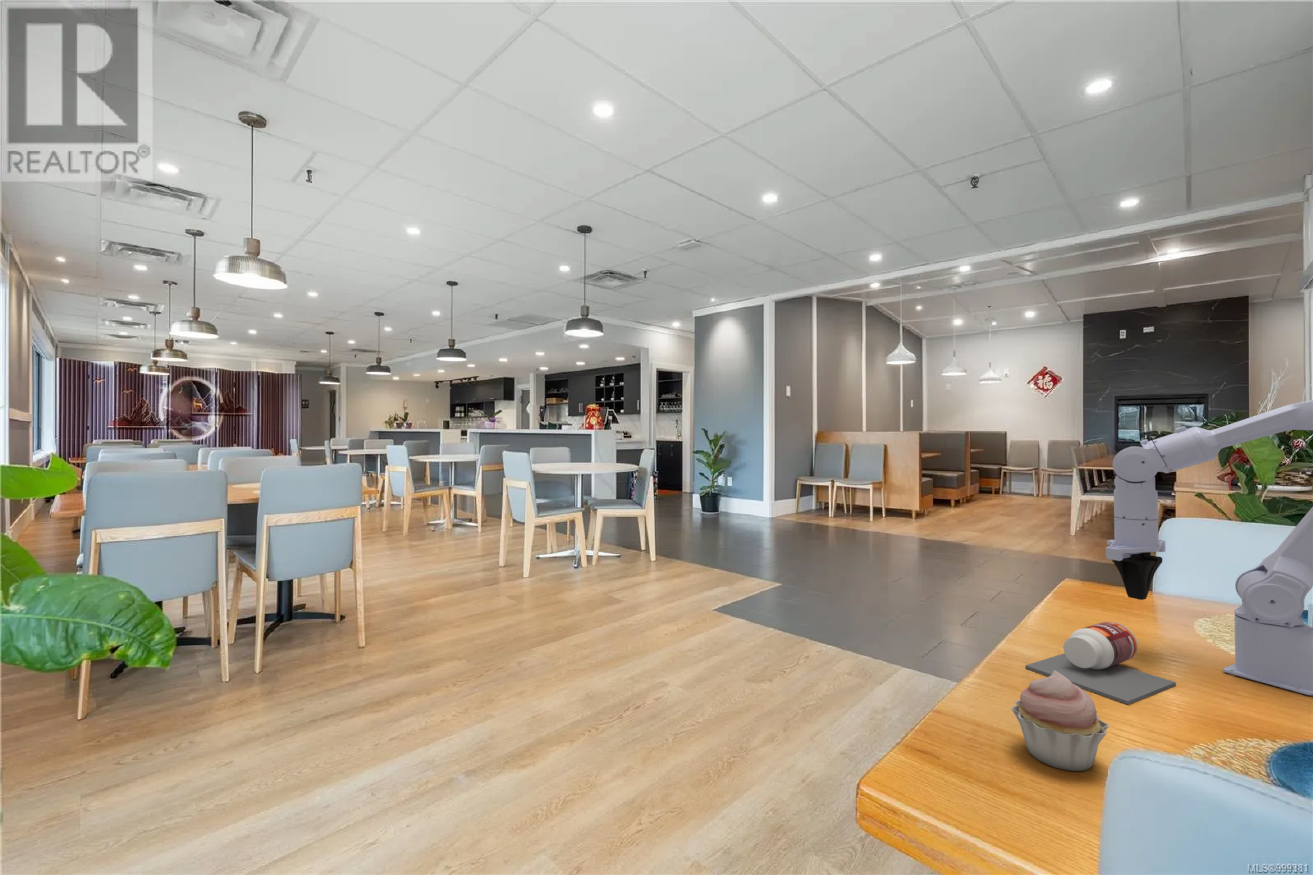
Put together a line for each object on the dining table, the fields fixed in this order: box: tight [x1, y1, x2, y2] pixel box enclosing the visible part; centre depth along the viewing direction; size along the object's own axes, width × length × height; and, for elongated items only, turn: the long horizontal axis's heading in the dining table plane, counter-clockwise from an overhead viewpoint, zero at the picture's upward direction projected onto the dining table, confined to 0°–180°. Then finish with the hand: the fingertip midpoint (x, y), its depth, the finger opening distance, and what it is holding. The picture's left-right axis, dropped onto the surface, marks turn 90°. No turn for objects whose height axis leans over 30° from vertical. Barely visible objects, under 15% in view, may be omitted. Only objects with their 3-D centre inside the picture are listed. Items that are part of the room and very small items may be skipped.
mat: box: [1024, 653, 1177, 706], centre depth 88 cm, size 14×13×1 cm
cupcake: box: [1010, 670, 1110, 772], centre depth 67 cm, size 9×9×10 cm
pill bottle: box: [1063, 621, 1139, 670], centre depth 91 cm, size 6×6×11 cm
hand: (1137, 598), depth 97 cm, fingers closed
